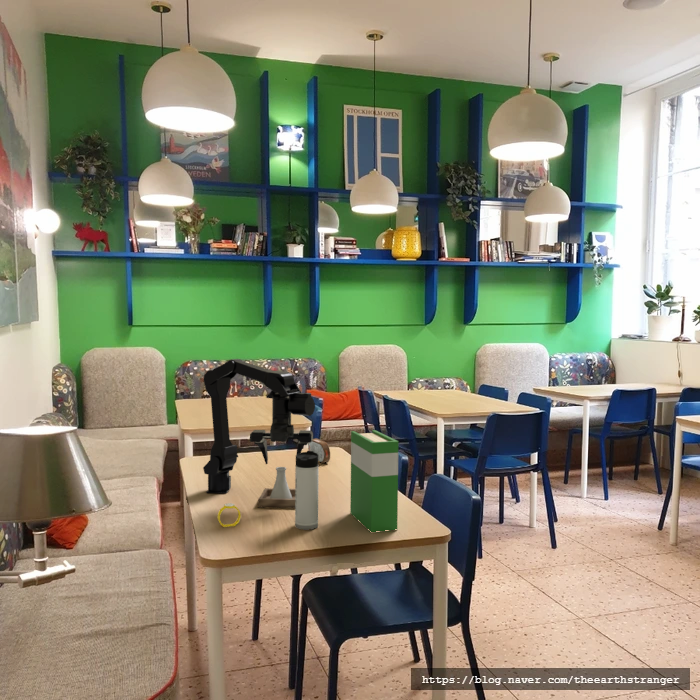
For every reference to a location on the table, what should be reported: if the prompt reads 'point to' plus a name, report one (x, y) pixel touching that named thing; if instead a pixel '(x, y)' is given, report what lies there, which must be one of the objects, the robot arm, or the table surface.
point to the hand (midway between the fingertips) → (281, 464)
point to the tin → (320, 450)
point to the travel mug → (306, 490)
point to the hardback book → (374, 480)
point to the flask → (281, 485)
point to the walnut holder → (275, 500)
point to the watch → (229, 508)
